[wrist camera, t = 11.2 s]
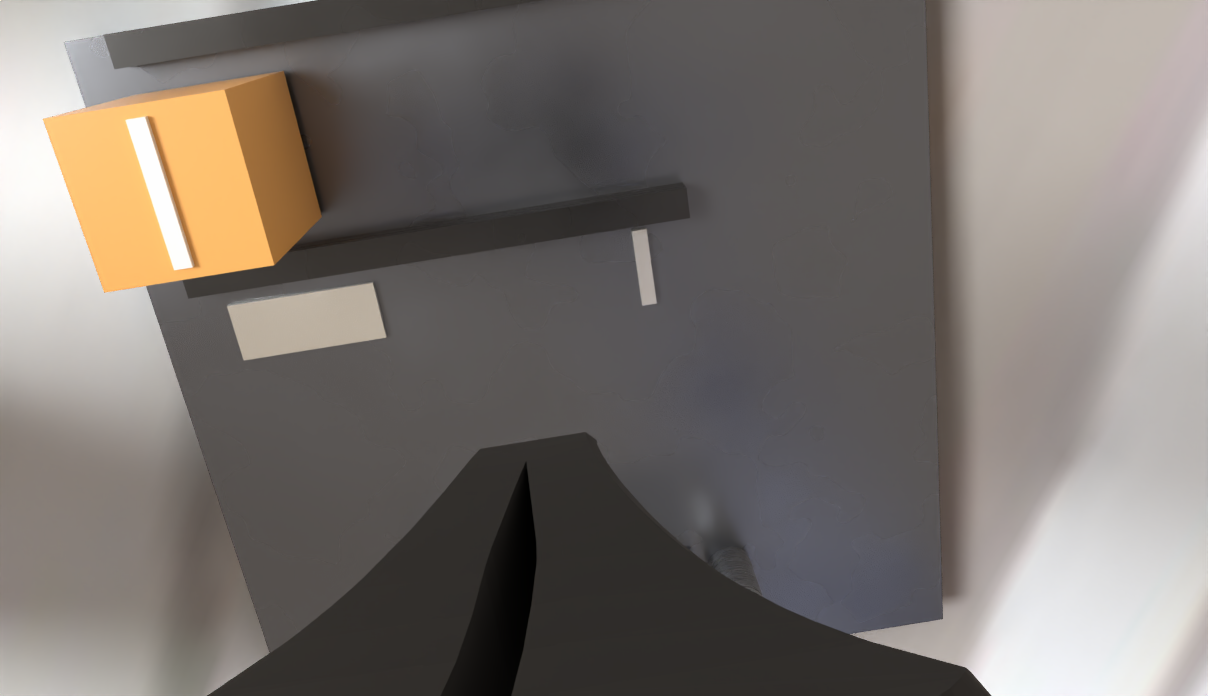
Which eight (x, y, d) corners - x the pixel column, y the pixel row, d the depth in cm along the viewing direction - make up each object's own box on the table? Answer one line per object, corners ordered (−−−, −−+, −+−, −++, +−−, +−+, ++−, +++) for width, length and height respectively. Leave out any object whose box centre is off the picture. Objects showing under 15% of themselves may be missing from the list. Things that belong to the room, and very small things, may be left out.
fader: (322, 217, 19) (272, 266, 15) (181, 239, 19) (101, 294, 16) (283, 70, 18) (222, 90, 14) (135, 95, 18) (39, 119, 15)
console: (927, 594, 24) (1018, 739, 20) (303, 694, 24) (244, 862, 20) (903, -93, 19) (1023, -120, 14) (88, 39, 19) (-67, 56, 14)
